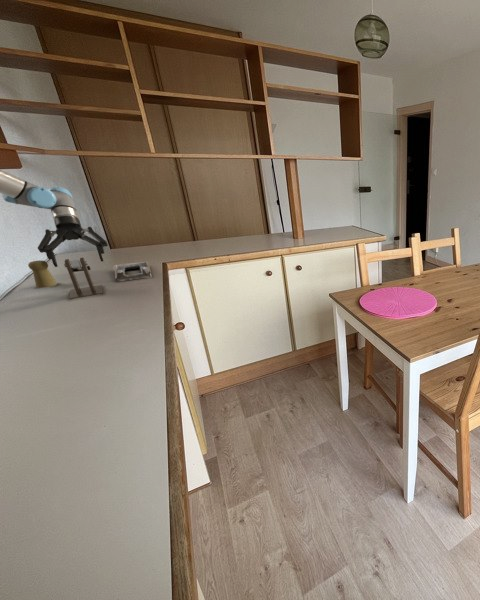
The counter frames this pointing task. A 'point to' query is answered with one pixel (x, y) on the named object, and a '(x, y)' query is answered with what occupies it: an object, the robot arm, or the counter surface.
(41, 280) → the cork
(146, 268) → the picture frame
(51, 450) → the counter surface
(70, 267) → the bracket
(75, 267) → the tap lever
